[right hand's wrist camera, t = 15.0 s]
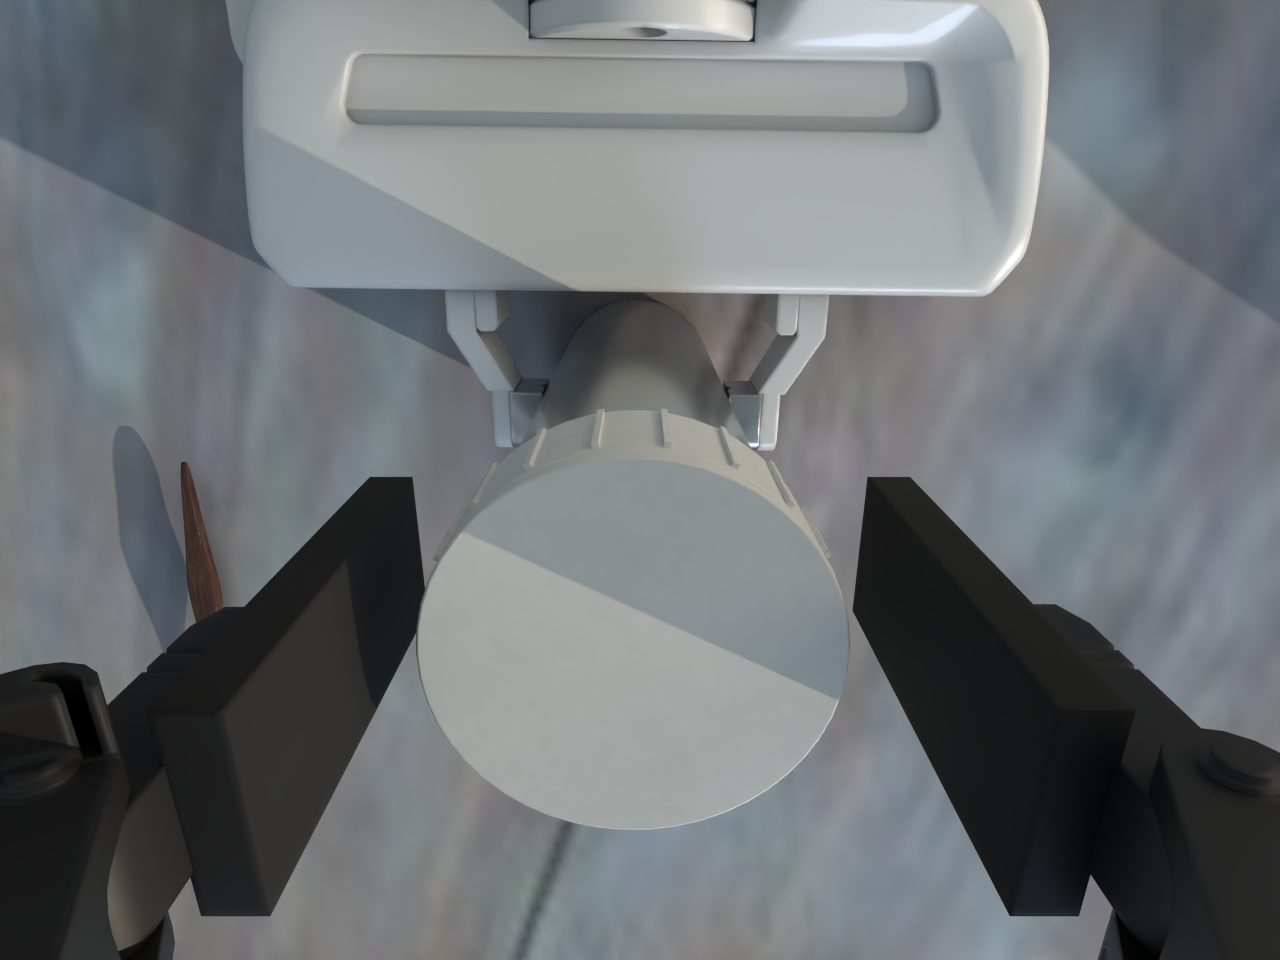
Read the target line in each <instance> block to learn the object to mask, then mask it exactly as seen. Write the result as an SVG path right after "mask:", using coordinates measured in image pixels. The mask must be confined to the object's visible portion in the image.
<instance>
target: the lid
mask: <svg viewBox="0 0 1280 960" xmlns="http://www.w3.org/2000/svg"><path fill="white" fill-rule="evenodd" d="M830 558H832V556H831V554H830V552H829V550H828V548H827V546H826V544H825V542H824V541H823V539H822V537H821V535H820V533H819V531H818V530H817V528H816V526H815V524H814V522H813V520H812V519H811V517H810V515H809V513H808V511H807V510H806V508H805V506H802V507H799V506H798V504H797V502H796V500H795V499H794V497H793V495H792V493H791V492H790V490H789V488H788V487H787V486H786V484H785V483H784V481H783V479H782V477H781V475H780V473H779V471H778V469H777V468H776V466H775V464H774V463H773V462H772V461H771V460H770V461H769V462H768V463H766V462H765V461H764V460H763V459H762V458H761V457H760V456H759V455H758V454H757V453H756V452H754V451H753V450H751V449H750V448H749V447H747V446H746V445H745V444H743V443H742V442H740V441H739V440H738V439H736V438H734V437H732V436H730V435H729V434H728V431H727V429H726V428H724V427H722V426H720V428H719V429H717V428H715V427H713V426H710V425H707V424H705V423H702V422H700V421H697V420H694V419H691V418H687V417H683V416H679V415H675V414H670V413H668V410H667V409H662V408H661V409H660V412H655V411H646V410H624V411H611V412H605V411H604V409H598V410H597V414H591V415H588V416H584V417H580V418H577V419H573V420H570V421H567V422H564V423H562V424H559V425H557V426H555V427H552V428H550V429H548V430H546V429H545V428H544V427H543V428H541V429H539V430H538V432H537V434H536V436H535V437H533V438H532V439H530V440H528V441H527V442H525V443H523V444H522V445H521V446H519V447H518V448H517V449H516V450H514V451H513V452H512V453H511V454H509V455H508V456H507V457H506V458H504V459H503V460H502V461H501V463H500V464H497V463H496V462H494V463H493V464H492V465H491V466H490V468H489V470H488V472H487V473H486V475H485V477H484V479H483V481H482V482H481V484H480V486H479V488H478V490H477V491H476V493H475V495H474V497H473V498H472V500H471V502H470V504H469V506H468V507H467V509H464V508H461V510H460V512H459V513H458V515H457V517H456V519H455V520H454V522H453V524H452V526H451V527H450V529H449V531H448V532H447V534H446V536H445V538H444V539H443V541H442V543H441V545H440V546H439V548H438V550H437V552H436V553H435V555H434V558H433V560H435V561H437V564H436V566H435V568H434V570H433V571H432V573H431V575H430V577H429V580H428V583H427V586H426V589H425V592H424V595H423V598H422V601H421V604H420V610H419V616H418V622H417V630H416V654H417V662H418V669H419V676H420V680H421V683H422V686H423V690H424V693H425V697H426V700H427V702H428V705H429V707H430V709H431V711H432V713H433V715H434V718H435V720H436V722H437V724H438V725H439V727H440V728H441V730H442V732H443V733H444V735H445V736H446V738H447V739H448V741H449V743H450V744H451V745H452V746H453V747H454V749H455V750H456V751H457V752H458V753H459V755H460V756H461V757H462V758H463V759H464V760H465V762H466V763H467V764H469V765H470V766H471V767H472V768H473V769H474V770H475V771H476V772H477V773H478V774H479V775H480V776H482V777H483V778H484V779H485V780H486V781H488V782H489V783H491V784H492V785H493V786H495V787H496V788H498V789H499V790H500V791H502V792H503V793H505V794H506V795H508V796H510V797H512V798H514V799H515V800H517V801H519V802H521V803H522V804H524V805H526V806H528V807H531V808H533V809H535V810H538V811H540V812H543V813H545V814H547V815H550V816H553V817H556V818H560V819H563V820H566V821H570V822H573V823H578V824H583V825H588V826H594V827H599V828H610V829H622V830H637V829H657V828H665V827H674V826H679V825H683V824H688V823H692V822H697V821H701V820H704V819H707V818H710V817H713V816H716V815H719V814H722V813H724V812H727V811H729V810H731V809H733V808H735V807H737V806H740V805H742V804H744V803H746V802H748V801H750V800H751V799H753V798H755V797H756V796H758V795H759V794H761V793H763V792H764V791H766V790H768V789H769V788H770V787H772V786H773V785H774V784H776V783H777V782H778V781H779V780H781V779H782V778H783V777H785V776H786V775H787V774H788V773H789V772H790V771H791V770H792V769H793V768H794V767H795V766H796V765H797V764H798V763H799V762H800V761H801V760H802V759H803V758H804V757H805V756H806V755H807V754H808V752H809V751H810V750H811V749H812V747H813V746H814V745H815V743H816V742H817V741H818V740H819V738H820V737H821V735H822V733H823V732H824V730H825V728H826V727H827V725H828V723H829V721H830V720H831V718H832V716H833V714H834V711H835V709H836V706H837V704H838V701H839V699H840V696H841V694H842V690H843V686H844V682H845V678H846V674H847V670H848V659H849V648H850V641H849V625H848V617H847V613H846V608H845V603H844V599H843V595H842V592H841V590H840V587H839V585H838V582H837V580H836V577H835V574H834V572H833V570H832V568H831V566H830V564H829V562H828V561H827V559H830Z"/></svg>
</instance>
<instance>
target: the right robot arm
mask: <svg viewBox="0 0 1280 960" xmlns="http://www.w3.org/2000/svg"><path fill="white" fill-rule="evenodd" d="M424 592H425V585H424V576H423V568H422V559H421V550H420V541H419V532H418V523H417V514H416V505H415V496H414V487H413V478H412V477H370V478H369V479H368V480H367V481H366V482H365V483H364V484H363V485H362V486H361V487H360V488H359V489H358V490H357V491H356V492H355V493H354V494H353V495H352V496H351V497H350V498H349V499H348V500H347V501H346V502H345V503H344V504H343V505H342V507H341V508H340V509H339V510H338V511H337V512H336V513H335V514H334V515H333V516H332V517H331V518H330V519H329V520H328V521H327V522H326V523H325V524H324V525H323V526H322V527H321V528H320V529H319V530H318V531H317V532H316V533H315V534H314V535H313V536H312V538H311V539H310V540H309V541H308V542H307V543H306V544H305V545H304V546H303V547H302V548H301V549H300V550H299V551H298V552H297V553H296V554H295V555H294V556H293V557H292V558H291V559H290V560H289V561H288V562H287V563H286V564H285V565H284V566H283V568H282V569H281V570H280V571H279V572H278V573H277V574H276V575H275V576H274V577H273V578H272V579H271V580H270V581H269V582H268V583H267V584H266V585H265V586H264V587H263V588H262V589H261V590H260V591H259V592H258V593H257V594H256V595H255V596H254V597H253V599H252V600H251V601H250V602H249V603H248V604H247V605H246V606H245V607H224V608H222V609H221V610H219V611H217V612H215V613H213V614H212V615H210V616H208V617H206V618H204V619H203V620H201V621H199V622H197V623H195V624H194V625H192V626H190V627H189V628H188V629H187V630H186V631H185V632H184V633H183V634H182V635H181V636H180V637H179V638H178V639H177V640H176V641H174V642H173V643H172V644H171V645H170V646H169V647H168V648H167V653H162V654H161V655H160V656H159V657H158V658H157V659H156V660H155V661H153V662H152V663H151V664H150V665H149V666H148V667H147V672H142V673H141V674H140V675H139V676H138V677H137V678H136V679H135V680H134V681H132V682H131V683H130V684H129V685H128V686H127V687H126V688H125V689H124V690H123V691H122V692H121V693H120V694H119V695H118V696H117V697H116V698H115V699H114V700H113V701H111V702H110V703H109V704H108V705H107V704H106V700H105V697H104V694H103V690H102V687H101V683H100V680H99V677H98V673H97V672H96V671H94V670H92V669H91V668H89V667H88V666H86V665H84V664H75V663H66V662H60V663H51V664H42V665H34V666H30V667H26V668H23V669H19V670H15V671H11V672H8V673H4V674H1V675H0V960H172V959H173V952H174V945H175V941H174V934H173V927H172V923H171V920H170V916H169V913H168V910H169V908H170V907H171V905H172V904H173V902H174V901H175V899H176V898H177V896H178V895H179V893H180V892H181V890H182V889H183V887H184V886H185V884H186V883H187V881H188V880H189V878H190V877H191V881H192V885H193V888H194V892H195V895H196V899H197V903H198V906H199V910H200V914H201V916H270V915H271V913H272V911H273V909H274V908H275V906H276V904H277V902H278V900H279V898H280V896H281V894H282V892H283V890H284V888H285V886H286V884H287V882H288V880H289V878H290V876H291V875H292V873H293V871H294V869H295V867H296V865H297V863H298V861H299V859H300V857H301V855H302V853H303V851H304V849H305V847H306V845H307V843H308V842H309V840H310V838H311V836H312V834H313V832H314V830H315V828H316V826H317V824H318V822H319V820H320V818H321V816H322V814H323V812H324V810H325V809H326V807H327V805H328V803H329V801H330V799H331V797H332V795H333V793H334V791H335V789H336V787H337V785H338V783H339V781H340V779H341V777H342V776H343V774H344V772H345V770H346V768H347V766H348V764H349V762H350V760H351V758H352V756H353V754H354V752H355V750H356V748H357V746H358V744H359V743H360V741H361V739H362V737H363V735H364V733H365V731H366V729H367V727H368V725H369V723H370V721H371V719H372V717H373V715H374V713H375V711H376V709H377V708H378V706H379V704H380V702H381V700H382V698H383V696H384V694H385V692H386V690H387V688H388V686H389V684H390V682H391V680H392V678H393V676H394V675H395V673H396V671H397V669H398V667H399V665H400V663H401V661H402V659H403V657H404V655H405V653H406V651H407V649H408V647H409V645H410V643H411V642H412V640H413V638H414V636H415V634H416V630H417V622H418V616H419V610H420V604H421V601H422V598H423V595H424ZM853 612H854V614H855V616H856V618H857V620H858V622H859V624H860V626H861V628H862V630H863V632H864V634H865V636H866V638H867V640H868V642H869V643H870V645H871V647H872V649H873V651H874V653H875V655H876V657H877V659H878V661H879V663H880V665H881V667H882V669H883V671H884V673H885V675H886V676H887V678H888V680H889V682H890V684H891V686H892V688H893V690H894V692H895V694H896V696H897V698H898V700H899V702H900V704H901V706H902V708H903V709H904V711H905V713H906V715H907V717H908V719H909V721H910V723H911V725H912V727H913V729H914V731H915V733H916V735H917V737H918V739H919V741H920V743H921V744H922V746H923V748H924V750H925V752H926V754H927V756H928V758H929V760H930V762H931V764H932V766H933V768H934V770H935V772H936V774H937V776H938V777H939V779H940V781H941V783H942V785H943V787H944V789H945V791H946V793H947V795H948V797H949V799H950V801H951V803H952V805H953V807H954V809H955V810H956V812H957V814H958V816H959V818H960V820H961V822H962V824H963V826H964V828H965V830H966V832H967V834H968V836H969V838H970V840H971V842H972V843H973V845H974V847H975V849H976V851H977V853H978V855H979V857H980V859H981V861H982V863H983V865H984V867H985V869H986V871H987V873H988V875H989V876H990V878H991V880H992V882H993V884H994V886H995V888H996V890H997V892H998V894H999V896H1000V898H1001V900H1002V902H1003V904H1004V906H1005V908H1006V909H1007V911H1008V913H1009V915H1010V916H1079V914H1080V910H1081V906H1082V903H1083V899H1084V895H1085V892H1086V888H1087V885H1088V881H1089V877H1090V874H1091V876H1092V877H1093V879H1094V880H1095V882H1096V883H1097V885H1098V886H1099V888H1100V889H1101V891H1102V892H1103V894H1104V895H1105V897H1106V898H1107V900H1108V901H1109V903H1110V904H1111V906H1112V907H1113V910H1112V913H1111V916H1110V920H1109V923H1108V926H1107V930H1106V933H1105V937H1104V940H1103V943H1102V947H1101V950H1100V954H1099V957H1098V960H1280V753H1279V752H1277V751H1275V750H1273V749H1271V748H1269V747H1267V746H1265V745H1262V744H1260V743H1258V742H1256V741H1254V740H1251V739H1247V738H1244V737H1241V736H1238V735H1234V734H1231V733H1228V732H1225V731H1218V730H1210V729H1202V728H1200V727H1199V726H1198V725H1197V724H1196V723H1195V722H1194V721H1193V720H1192V719H1190V718H1189V717H1188V716H1187V715H1186V714H1185V713H1184V712H1183V711H1182V710H1181V709H1180V708H1179V707H1178V706H1177V705H1176V704H1175V703H1174V702H1173V701H1171V700H1170V699H1169V698H1168V697H1167V696H1166V695H1165V694H1164V693H1163V692H1162V691H1161V690H1160V689H1159V688H1158V687H1157V686H1156V685H1155V684H1153V683H1152V682H1151V681H1150V680H1149V679H1148V678H1147V677H1146V676H1145V675H1144V674H1143V673H1142V672H1141V671H1140V670H1134V665H1133V664H1132V663H1131V662H1130V661H1129V660H1128V659H1127V658H1126V657H1125V656H1124V655H1123V654H1122V653H1121V652H1120V651H1119V650H1114V646H1113V645H1112V644H1111V643H1110V642H1109V641H1108V640H1107V639H1106V638H1105V637H1104V636H1103V635H1102V634H1101V633H1100V632H1099V631H1097V630H1096V629H1095V628H1094V627H1093V626H1092V625H1091V624H1090V623H1088V622H1086V621H1085V620H1083V619H1081V618H1079V617H1077V616H1076V615H1074V614H1072V613H1070V612H1068V611H1066V610H1065V609H1063V608H1061V607H1059V606H1057V605H1056V604H1032V603H1031V602H1030V601H1029V600H1028V599H1027V598H1026V596H1025V595H1024V594H1023V593H1022V592H1021V591H1020V590H1019V589H1018V588H1017V587H1016V586H1015V585H1014V584H1013V583H1012V582H1011V581H1010V580H1009V579H1008V578H1007V577H1006V576H1005V575H1004V574H1003V573H1002V572H1001V571H1000V570H999V569H998V568H997V566H996V565H995V564H994V563H993V562H992V561H991V560H990V559H989V558H988V557H987V556H986V555H985V554H984V553H983V552H982V551H981V550H980V549H979V548H978V547H977V546H976V545H975V544H974V543H973V542H972V541H971V540H970V539H969V538H968V536H967V535H966V534H965V533H964V532H963V531H962V530H961V529H960V528H959V527H958V526H957V525H956V524H955V523H954V522H953V521H952V520H951V519H950V518H949V517H948V516H947V515H946V514H945V513H944V512H943V511H942V510H941V509H940V508H939V507H938V505H937V504H936V503H935V502H934V501H933V500H932V499H931V498H930V497H929V496H928V495H927V494H926V493H925V492H924V491H923V490H922V489H921V488H920V487H919V486H918V485H917V484H916V483H915V482H914V481H913V480H912V479H911V478H910V477H868V478H867V487H866V496H865V505H864V514H863V523H862V532H861V541H860V550H859V559H858V568H857V576H856V585H855V594H854V603H853Z"/></svg>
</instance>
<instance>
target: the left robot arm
mask: <svg viewBox="0 0 1280 960" xmlns="http://www.w3.org/2000/svg"><path fill="white" fill-rule="evenodd" d="M226 7H227V14H228V21H229V27H230V34H231V38H232V42H233V45H234V48H235V51H236V53H237V55H238V57H239V60H240V62H241V64H242V66H243V102H242V125H243V154H244V172H245V186H246V198H247V208H248V219H249V226H250V233H251V238H252V241H253V245H254V247H255V249H256V251H257V252H258V253H259V255H260V256H261V257H262V258H263V259H264V260H265V261H266V263H267V264H268V265H269V266H270V267H271V268H272V269H273V271H274V272H275V273H276V274H277V275H278V276H279V277H280V278H281V279H282V280H283V281H284V282H285V283H286V284H288V285H289V286H292V287H303V288H372V289H444V291H445V305H446V318H447V331H448V333H449V335H450V336H451V338H452V339H453V341H454V342H455V344H456V345H457V347H458V348H459V350H460V351H461V353H462V354H463V356H464V357H465V359H466V360H467V362H468V363H469V365H470V366H471V368H472V369H473V371H474V372H475V374H476V375H477V377H478V378H479V380H480V381H481V383H482V384H483V386H484V387H485V389H486V390H487V391H491V392H492V409H493V426H494V440H495V444H496V447H510V448H513V447H519V446H520V444H521V442H522V440H523V438H524V436H525V434H526V432H527V429H528V427H529V425H530V423H531V421H532V419H533V417H534V415H535V413H536V411H537V409H538V407H539V405H540V403H541V401H542V399H543V396H544V394H545V392H546V390H547V388H548V386H549V379H530V378H522V375H521V373H520V371H519V370H518V368H517V366H516V365H515V363H514V361H513V360H512V358H511V356H510V355H509V353H508V351H507V350H506V348H505V346H504V344H503V343H502V341H501V339H500V338H499V336H498V334H497V333H496V331H495V330H496V329H497V328H498V327H499V326H500V325H501V324H502V323H503V322H504V321H505V320H506V319H507V318H509V296H508V290H522V291H597V292H672V293H747V294H766V298H765V317H764V320H765V321H766V323H767V324H768V325H769V326H770V327H772V328H773V329H774V330H775V331H776V332H777V333H778V335H777V336H776V338H775V339H774V341H773V343H772V344H771V346H770V347H769V349H768V350H767V352H766V354H765V355H764V357H763V358H762V360H761V362H760V363H759V365H758V366H757V368H756V370H755V371H754V373H753V374H752V376H751V377H750V379H749V380H750V381H723V388H724V390H725V393H726V395H727V397H728V399H729V401H730V403H731V406H732V408H733V410H734V412H735V414H736V417H737V419H738V421H739V423H740V425H741V428H742V430H743V432H744V434H745V436H746V438H747V441H748V443H749V445H750V447H751V449H752V450H774V448H775V445H776V440H777V428H778V415H779V403H780V395H785V393H786V392H787V390H788V389H789V388H790V386H791V385H792V383H793V382H794V380H795V379H796V378H797V376H798V375H799V373H800V372H801V371H802V369H803V368H804V366H805V365H806V363H807V362H808V361H809V359H810V358H811V356H812V355H813V353H814V352H815V351H816V349H817V348H818V346H819V345H820V344H821V342H822V341H823V339H824V338H825V333H826V323H827V313H828V304H829V295H897V296H984V295H987V294H989V293H991V292H992V291H993V290H994V289H995V288H996V287H997V286H998V285H999V284H1000V283H1001V282H1002V281H1003V280H1004V279H1005V278H1006V277H1007V276H1008V274H1009V273H1010V272H1011V271H1012V270H1013V269H1014V268H1015V267H1016V266H1017V264H1018V263H1019V262H1020V261H1021V259H1022V258H1023V256H1024V254H1025V252H1026V249H1027V246H1028V242H1029V239H1030V234H1031V230H1032V225H1033V219H1034V214H1035V208H1036V202H1037V195H1038V188H1039V182H1040V174H1041V166H1042V158H1043V149H1044V138H1045V127H1046V116H1047V100H1048V84H1049V44H1048V35H1047V28H1046V24H1045V20H1044V16H1043V13H1042V10H1041V7H1040V5H1039V3H1038V0H226Z"/></svg>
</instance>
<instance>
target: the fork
mask: <svg viewBox="0 0 1280 960" xmlns="http://www.w3.org/2000/svg"><path fill="white" fill-rule="evenodd" d="M181 489H182V504H183V517H184V530H185V545H186V565H187V580H188V589H189V595H190V599H191V604H192V608H193V611H194V615H195V618H196V622H199V621H201V620H203V619H204V618H206V617H208V616H210V615H212V614H213V613H215V612H217V611H219V610H221V609H222V608H223V603H222V594H221V588H220V583H219V579H218V575H217V571H216V568H215V564H214V561H213V557H212V554H211V550H210V547H209V543H208V539H207V536H206V532H205V528H204V524H203V520H202V515H201V511H200V507H199V503H198V499H197V494H196V490H195V487H194V483H193V479H192V476H191V473H190V469H189V467H188V464H187V463H186V462H182V463H181Z"/></svg>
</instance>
